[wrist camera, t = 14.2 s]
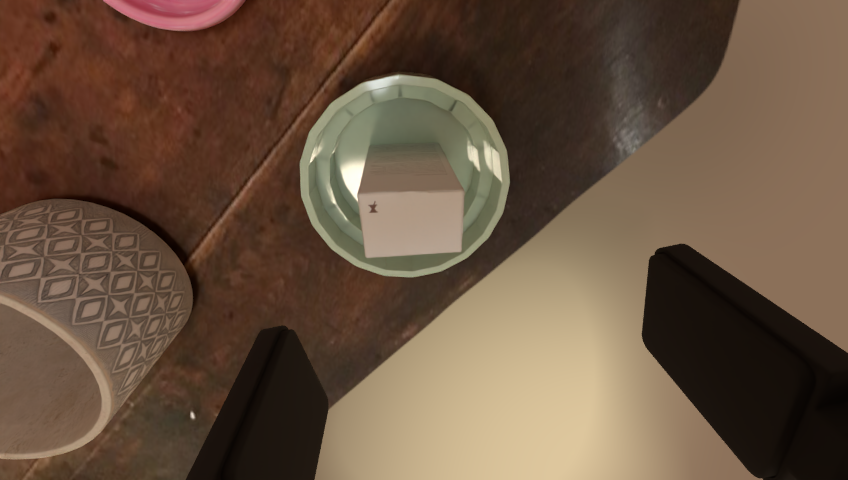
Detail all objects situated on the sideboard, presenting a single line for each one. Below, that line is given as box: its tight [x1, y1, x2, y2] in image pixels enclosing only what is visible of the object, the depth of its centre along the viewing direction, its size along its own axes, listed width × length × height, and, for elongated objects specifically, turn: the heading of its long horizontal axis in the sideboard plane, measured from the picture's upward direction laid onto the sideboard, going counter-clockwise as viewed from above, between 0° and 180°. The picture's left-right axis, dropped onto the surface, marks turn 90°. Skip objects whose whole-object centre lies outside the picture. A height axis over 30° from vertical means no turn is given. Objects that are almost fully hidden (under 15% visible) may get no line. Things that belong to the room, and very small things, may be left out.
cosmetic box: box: [357, 143, 465, 258], centre depth 26 cm, size 6×4×12 cm
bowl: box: [300, 71, 510, 277], centre depth 29 cm, size 15×15×6 cm
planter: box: [0, 199, 193, 459], centre depth 29 cm, size 16×16×13 cm
